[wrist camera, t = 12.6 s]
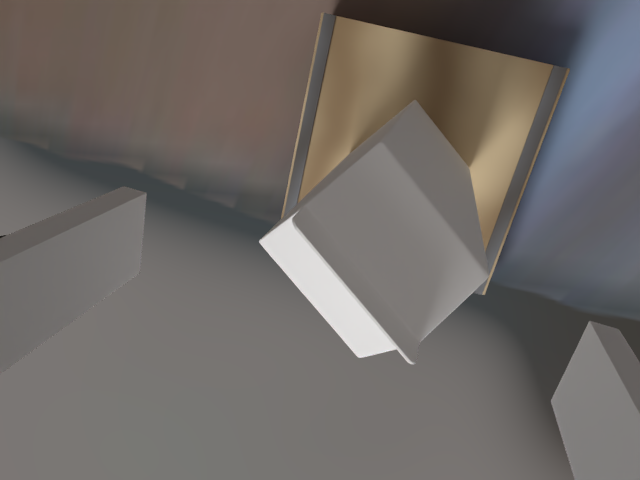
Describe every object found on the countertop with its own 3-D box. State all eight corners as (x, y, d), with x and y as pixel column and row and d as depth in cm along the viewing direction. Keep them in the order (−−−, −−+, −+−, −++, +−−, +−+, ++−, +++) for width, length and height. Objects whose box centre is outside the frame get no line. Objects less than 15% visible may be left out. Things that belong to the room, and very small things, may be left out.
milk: (415, 98, 34) (369, 150, 14) (470, 169, 35) (504, 317, 15) (346, 155, 37) (220, 272, 16) (399, 221, 37) (343, 412, 17)
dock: (289, 222, 42) (277, 235, 40) (331, 15, 37) (321, 12, 34) (481, 278, 40) (484, 295, 37) (560, 68, 34) (570, 69, 31)
